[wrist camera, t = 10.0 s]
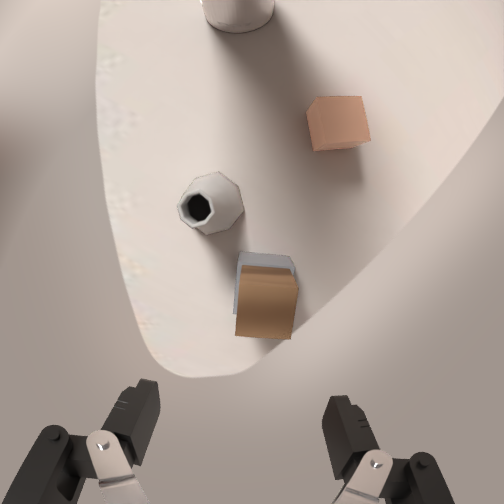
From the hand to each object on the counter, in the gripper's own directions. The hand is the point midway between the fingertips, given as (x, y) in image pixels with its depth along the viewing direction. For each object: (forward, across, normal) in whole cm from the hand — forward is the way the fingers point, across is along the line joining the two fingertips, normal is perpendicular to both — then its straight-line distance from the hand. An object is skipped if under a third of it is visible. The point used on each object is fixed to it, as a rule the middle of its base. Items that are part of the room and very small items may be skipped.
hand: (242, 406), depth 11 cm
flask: (+24, +5, -7) cm, 25 cm away
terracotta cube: (+24, -8, -18) cm, 31 cm away
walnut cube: (+19, -2, +1) cm, 19 cm away
